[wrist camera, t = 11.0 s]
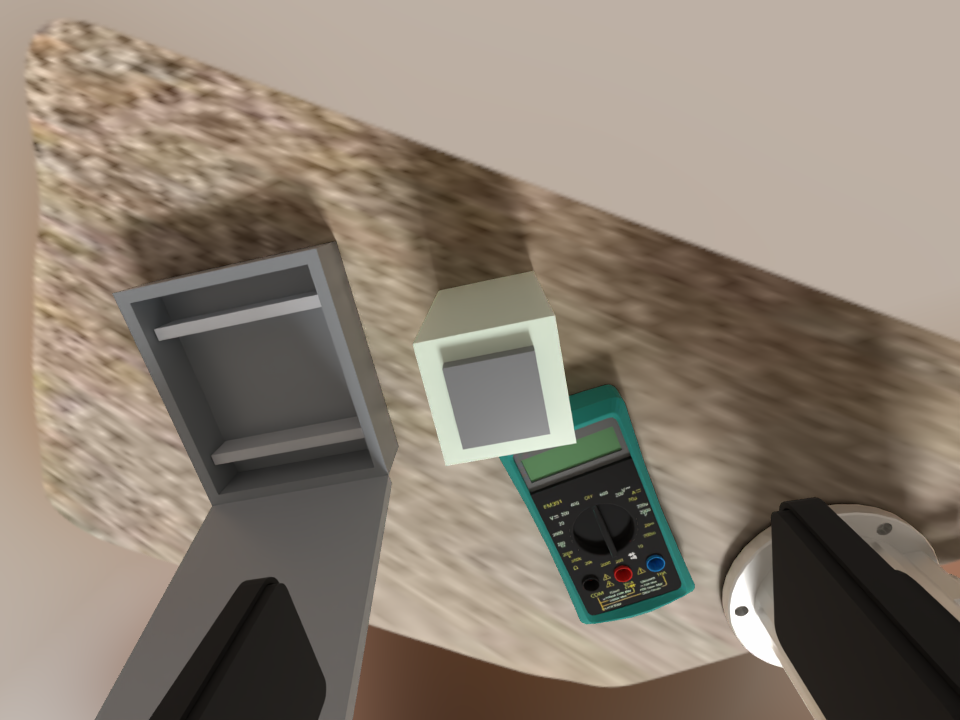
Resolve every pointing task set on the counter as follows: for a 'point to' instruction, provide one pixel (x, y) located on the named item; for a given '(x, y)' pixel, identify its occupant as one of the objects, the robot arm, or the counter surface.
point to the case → (265, 373)
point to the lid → (292, 561)
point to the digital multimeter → (602, 514)
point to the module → (494, 370)
